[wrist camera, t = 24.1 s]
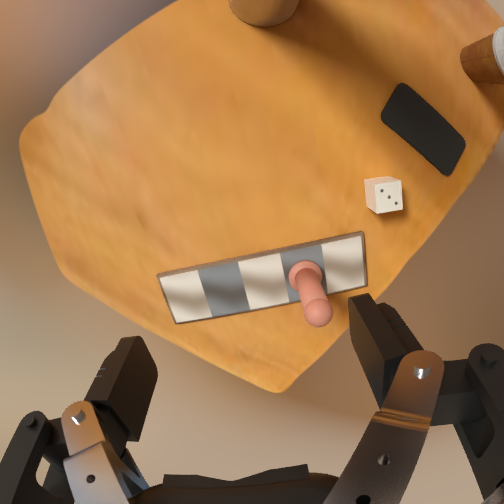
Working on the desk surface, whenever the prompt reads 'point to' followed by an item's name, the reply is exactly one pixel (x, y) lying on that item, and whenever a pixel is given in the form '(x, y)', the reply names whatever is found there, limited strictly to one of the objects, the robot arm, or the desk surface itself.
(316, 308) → the pawn
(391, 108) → the phone
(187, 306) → the board
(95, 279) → the desk surface
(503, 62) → the disposable coffee cup
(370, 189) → the die
